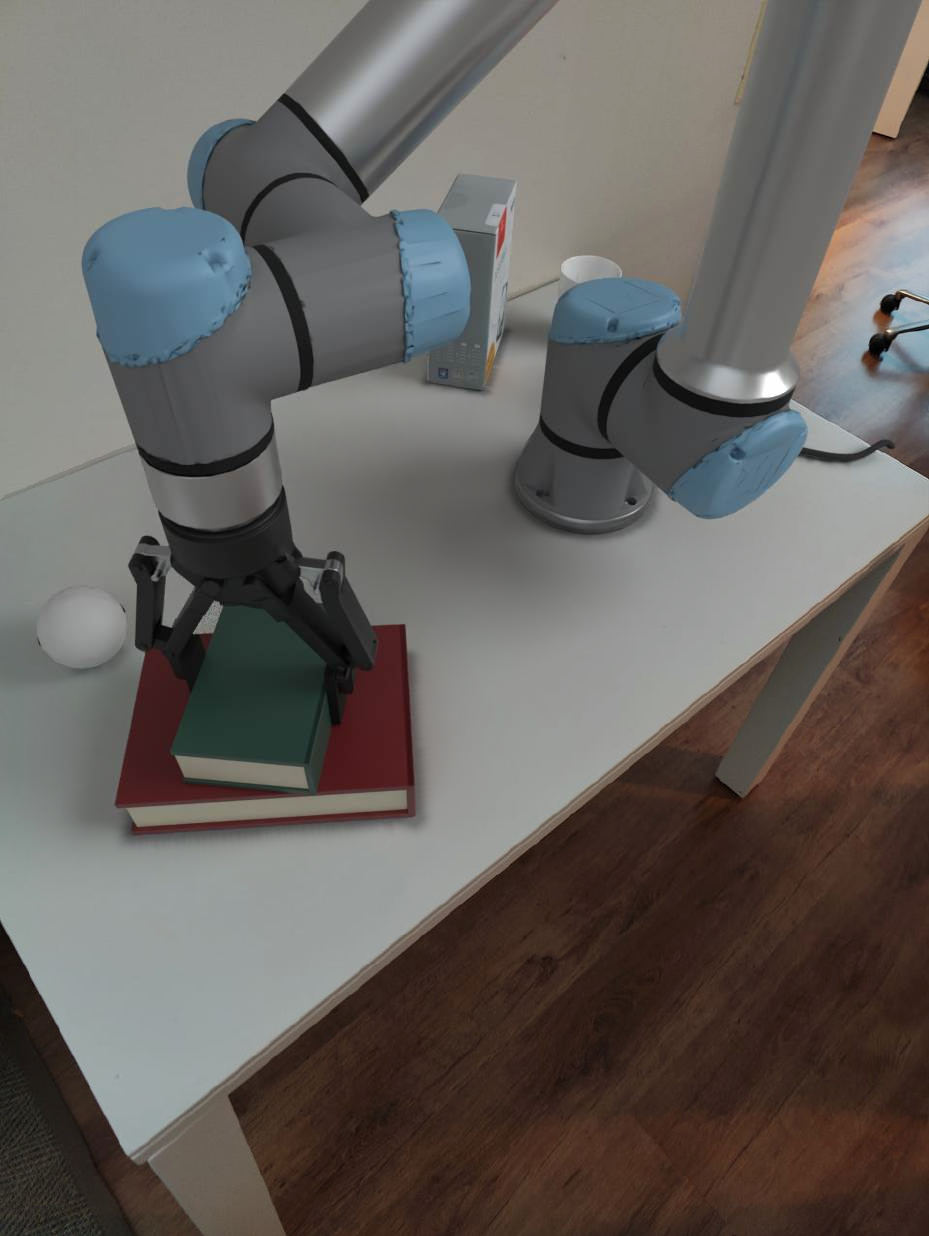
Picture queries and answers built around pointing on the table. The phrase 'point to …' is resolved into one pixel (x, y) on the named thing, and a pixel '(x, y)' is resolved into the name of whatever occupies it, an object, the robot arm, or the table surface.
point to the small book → (256, 709)
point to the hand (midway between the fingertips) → (273, 704)
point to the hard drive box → (478, 277)
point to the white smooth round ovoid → (81, 627)
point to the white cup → (585, 271)
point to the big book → (348, 790)
